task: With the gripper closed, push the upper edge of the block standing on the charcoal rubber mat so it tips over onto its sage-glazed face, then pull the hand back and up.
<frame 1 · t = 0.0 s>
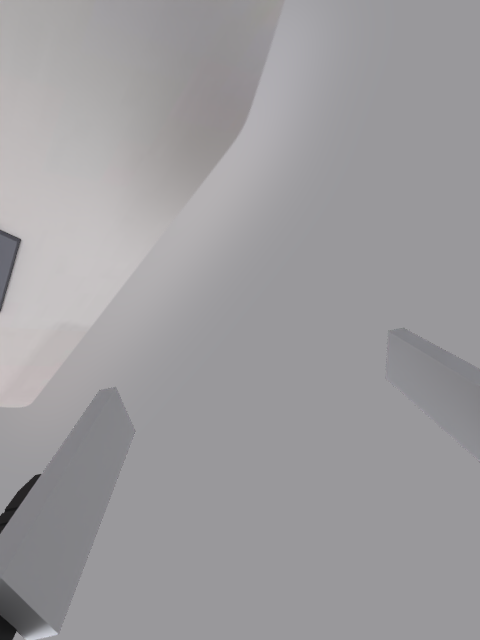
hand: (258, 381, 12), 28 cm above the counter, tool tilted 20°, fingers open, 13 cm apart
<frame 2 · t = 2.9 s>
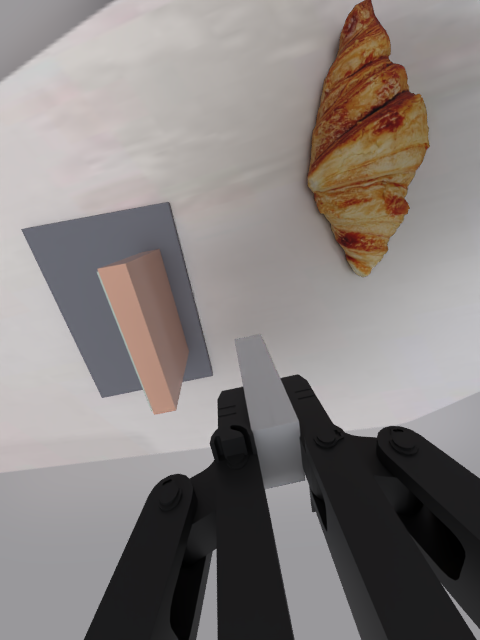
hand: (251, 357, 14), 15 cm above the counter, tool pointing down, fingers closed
croissant: (347, 172, 25), on the counter
block: (166, 306, 27), point 1 cm above the counter, touching mat
mat: (132, 310, 28), on the counter
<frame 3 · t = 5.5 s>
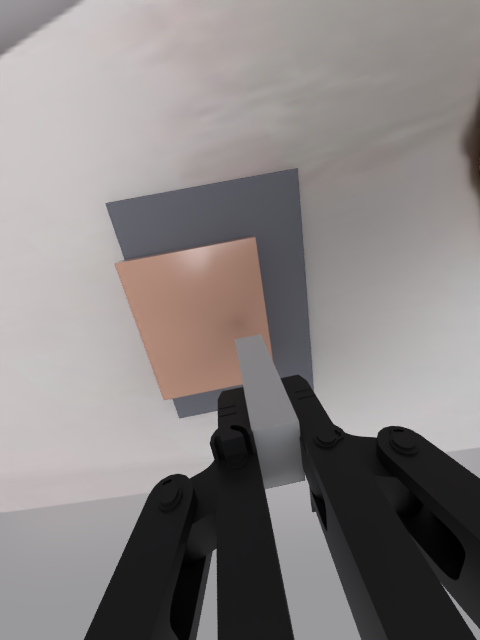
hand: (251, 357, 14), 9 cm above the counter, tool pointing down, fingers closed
block: (264, 311, 20), point 2 cm above the counter, tilted 90°, touching mat
mat: (228, 311, 22), on the counter
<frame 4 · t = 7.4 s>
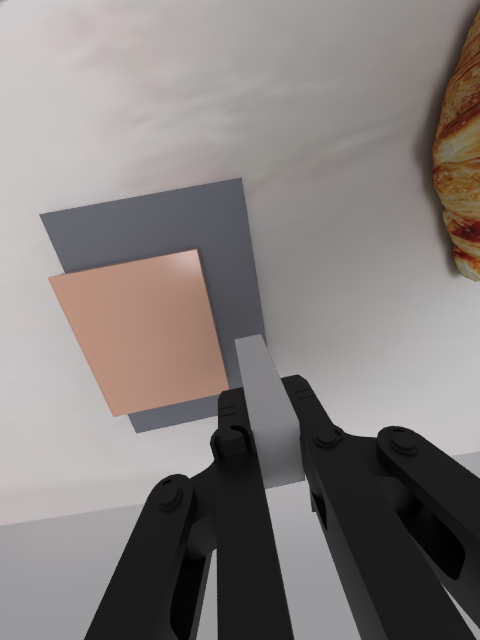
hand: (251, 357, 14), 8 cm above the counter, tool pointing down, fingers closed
croissant: (471, 143, 19), on the counter
block: (214, 324, 20), point 2 cm above the counter, tilted 90°, touching mat
mat: (181, 323, 21), on the counter
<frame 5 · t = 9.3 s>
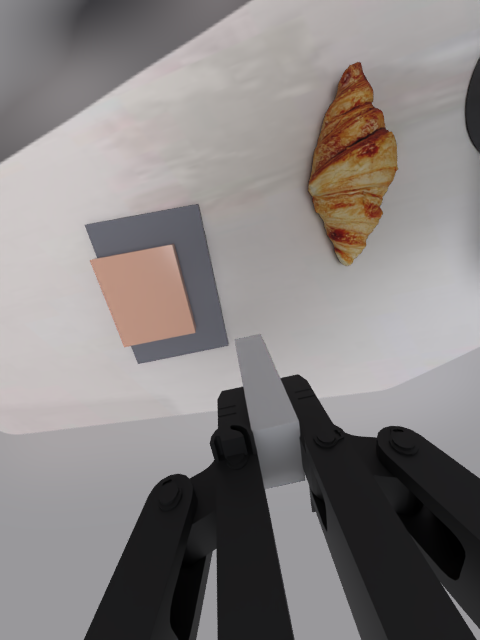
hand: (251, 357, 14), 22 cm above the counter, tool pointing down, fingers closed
croissant: (338, 183, 32), on the counter
block: (185, 289, 33), point 2 cm above the counter, tilted 90°, touching mat
mat: (165, 290, 35), on the counter
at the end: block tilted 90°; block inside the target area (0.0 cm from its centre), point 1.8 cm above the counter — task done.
